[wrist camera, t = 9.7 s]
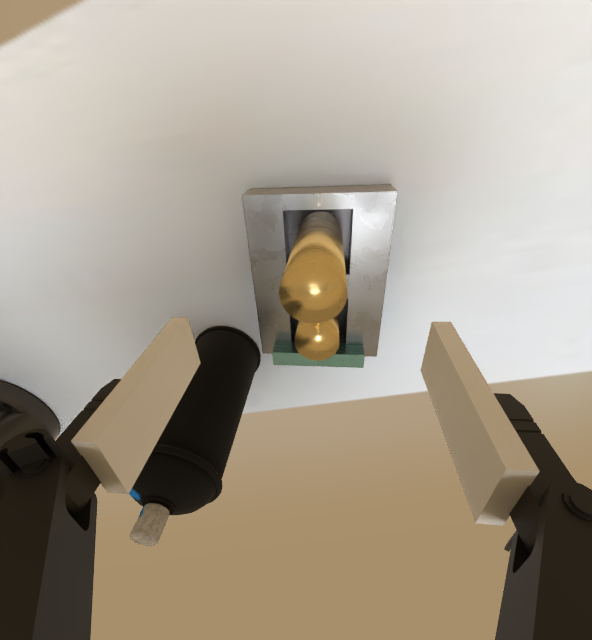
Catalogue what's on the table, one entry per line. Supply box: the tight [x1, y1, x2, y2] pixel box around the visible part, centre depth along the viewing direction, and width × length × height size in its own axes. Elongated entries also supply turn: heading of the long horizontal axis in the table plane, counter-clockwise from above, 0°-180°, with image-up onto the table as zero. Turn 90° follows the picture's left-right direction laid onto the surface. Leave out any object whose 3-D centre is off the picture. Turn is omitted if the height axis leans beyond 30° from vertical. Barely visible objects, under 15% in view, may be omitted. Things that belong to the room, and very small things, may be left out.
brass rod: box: [279, 211, 347, 324], centre depth 23 cm, size 4×4×12 cm
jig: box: [242, 185, 397, 368], centre depth 28 cm, size 12×16×6 cm
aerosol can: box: [129, 327, 260, 546], centre depth 29 cm, size 8×8×20 cm
